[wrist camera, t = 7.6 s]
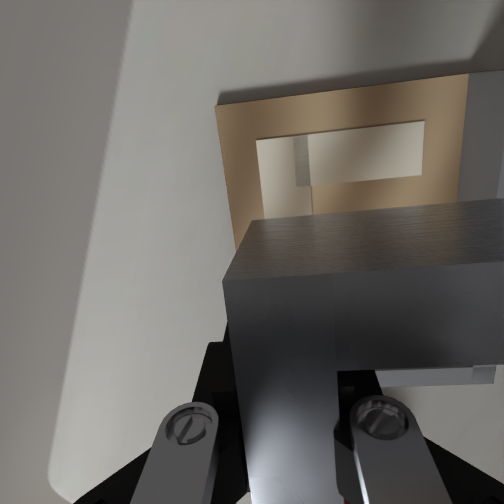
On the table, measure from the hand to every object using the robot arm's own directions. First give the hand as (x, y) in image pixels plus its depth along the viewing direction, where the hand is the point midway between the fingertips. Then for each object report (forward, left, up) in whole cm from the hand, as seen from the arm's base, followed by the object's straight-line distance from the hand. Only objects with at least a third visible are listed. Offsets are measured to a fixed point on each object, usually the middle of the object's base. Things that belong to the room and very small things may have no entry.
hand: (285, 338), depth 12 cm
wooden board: (-4, +1, -12) cm, 13 cm away
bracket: (-3, +2, -2) cm, 4 cm away
